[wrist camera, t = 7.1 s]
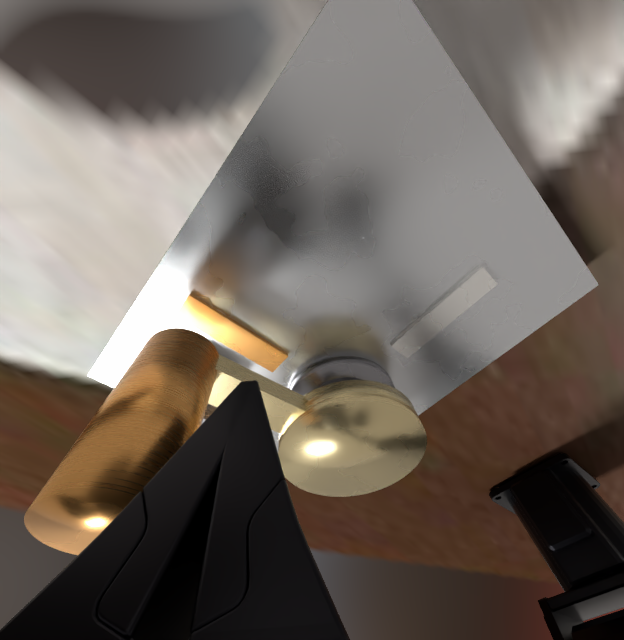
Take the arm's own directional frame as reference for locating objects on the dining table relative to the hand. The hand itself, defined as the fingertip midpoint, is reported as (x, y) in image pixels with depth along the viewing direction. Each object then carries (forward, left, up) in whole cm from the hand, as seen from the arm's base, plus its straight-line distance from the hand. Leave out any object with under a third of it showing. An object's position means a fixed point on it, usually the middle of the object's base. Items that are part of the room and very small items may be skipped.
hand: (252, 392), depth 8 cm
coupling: (-3, +2, -3) cm, 5 cm away
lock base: (-3, -1, -6) cm, 7 cm away
